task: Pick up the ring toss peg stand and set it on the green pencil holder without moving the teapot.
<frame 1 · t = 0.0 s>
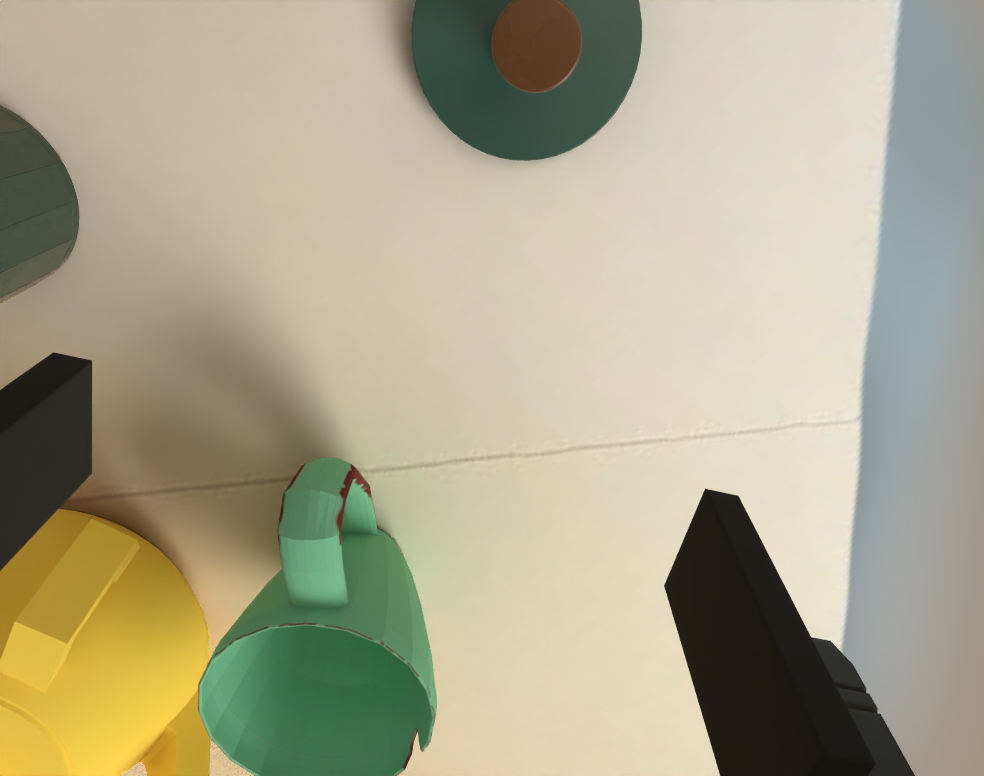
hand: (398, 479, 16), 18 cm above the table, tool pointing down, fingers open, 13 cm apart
teapot: (83, 601, 41), on the table
ring toss peg stand: (525, 41, 28), point 1 cm above the table
mug: (356, 520, 39), on the table
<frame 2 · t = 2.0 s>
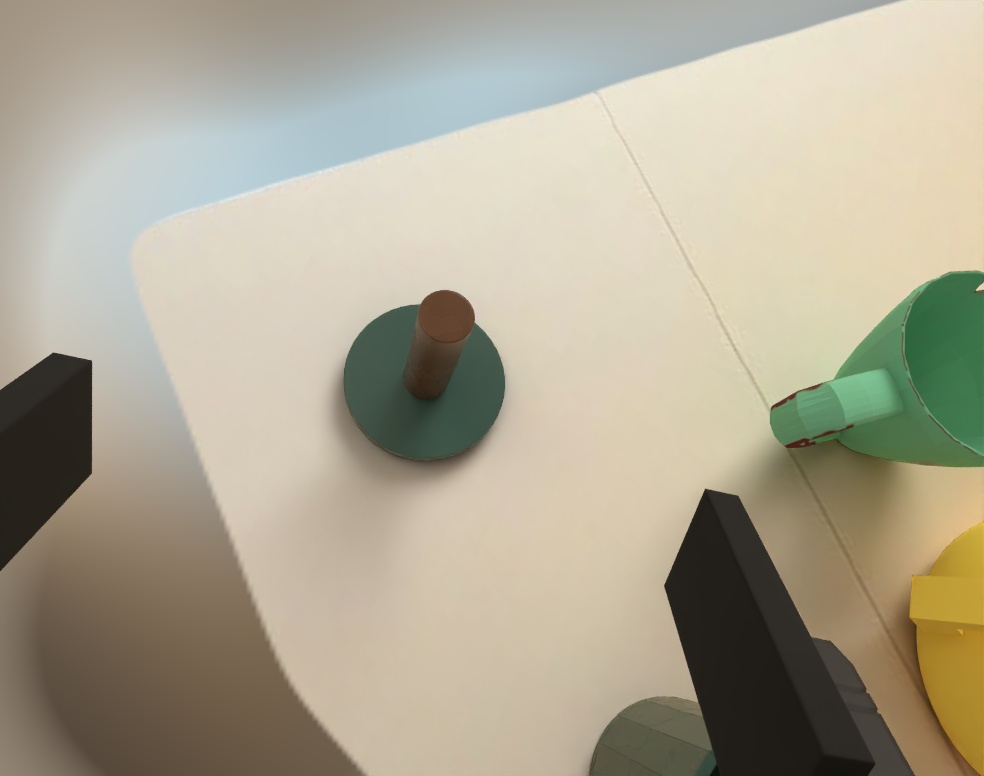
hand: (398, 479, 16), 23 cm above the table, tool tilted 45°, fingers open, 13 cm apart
ring toss peg stand: (424, 382, 40), point 1 cm above the table
mug: (824, 424, 45), on the table
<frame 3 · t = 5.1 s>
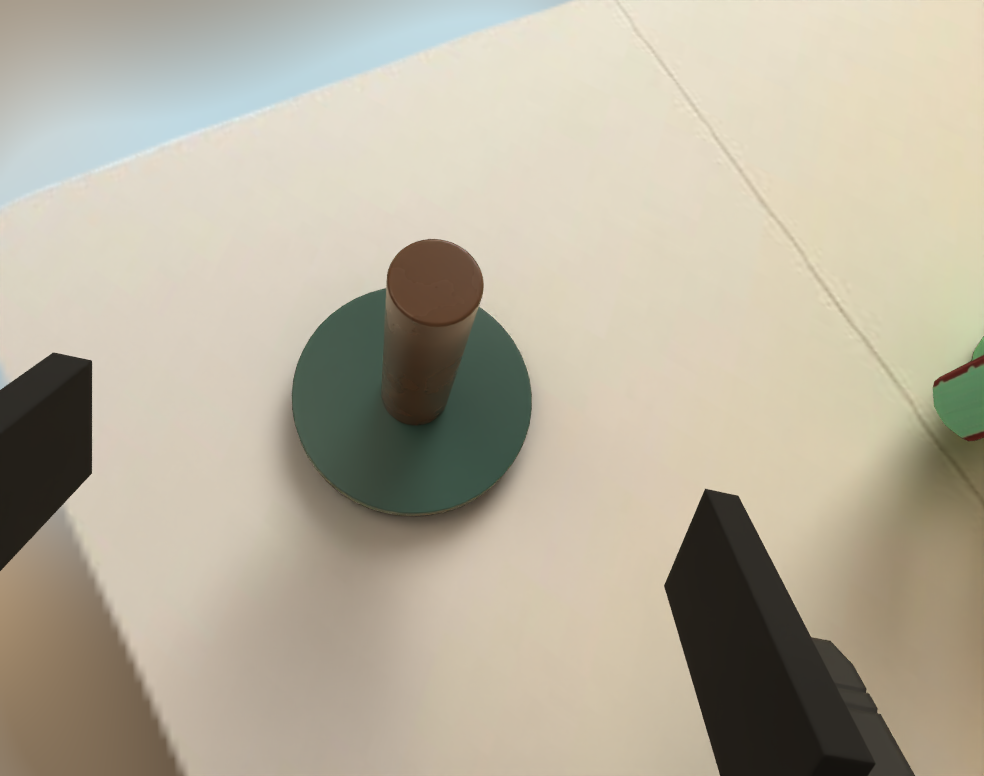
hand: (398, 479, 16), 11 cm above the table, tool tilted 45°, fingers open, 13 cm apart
ring toss peg stand: (413, 398, 27), point 1 cm above the table
mug: (976, 400, 32), on the table
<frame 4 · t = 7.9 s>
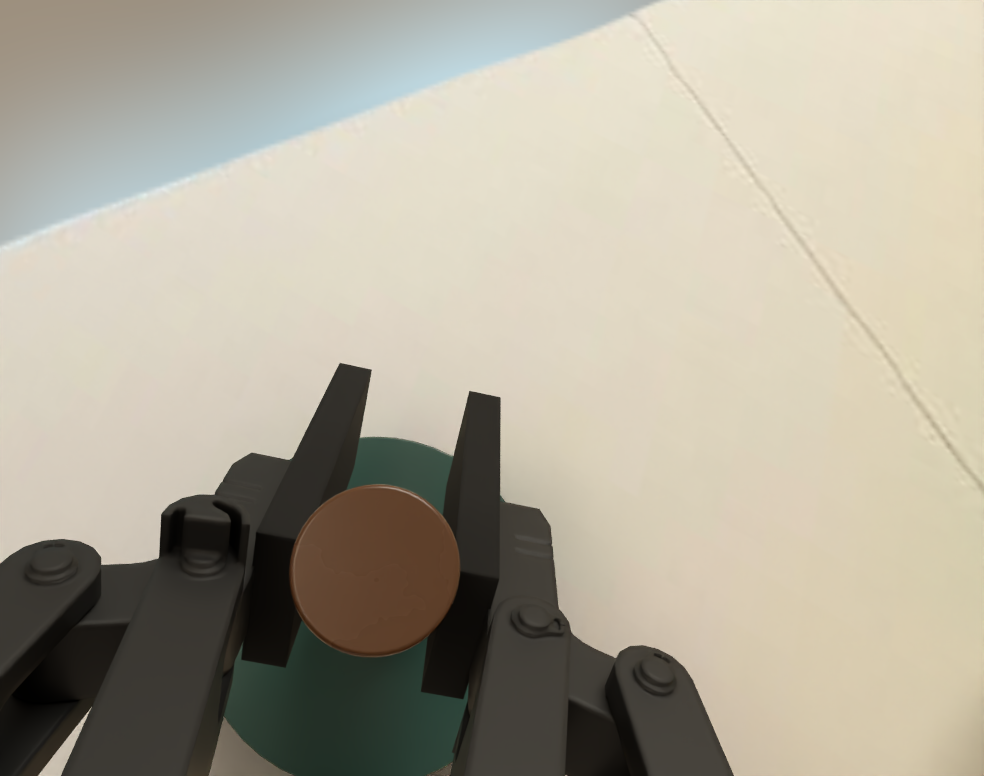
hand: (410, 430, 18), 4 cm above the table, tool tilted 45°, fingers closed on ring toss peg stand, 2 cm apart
ring toss peg stand: (373, 601, 19), point 1 cm above the table, touching gripper
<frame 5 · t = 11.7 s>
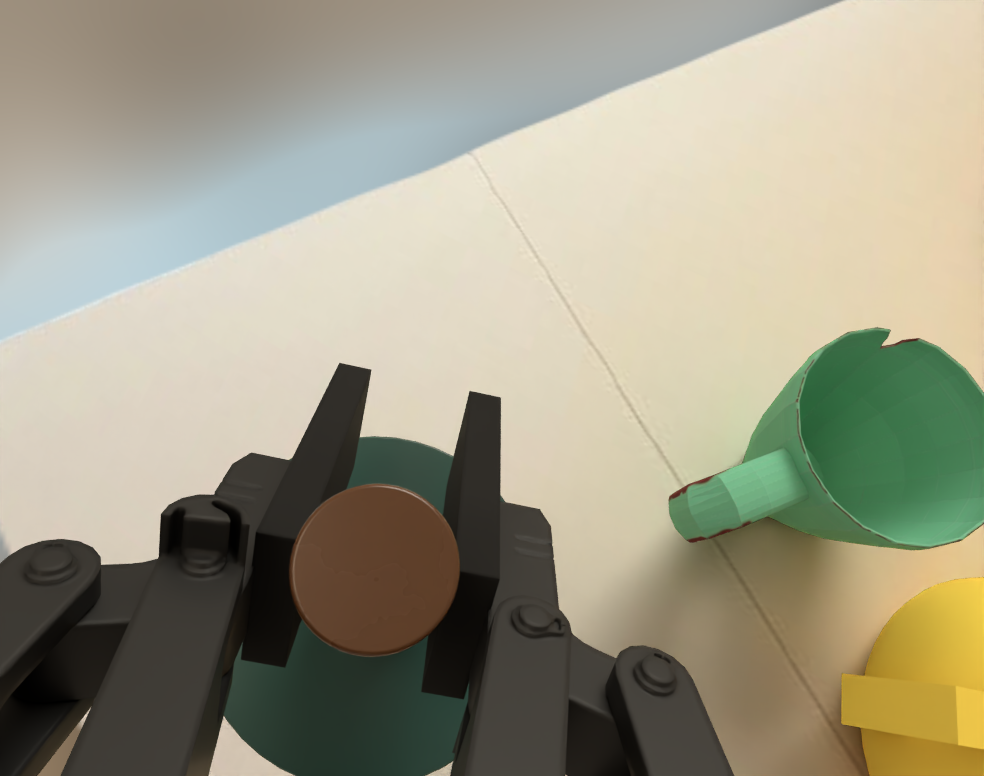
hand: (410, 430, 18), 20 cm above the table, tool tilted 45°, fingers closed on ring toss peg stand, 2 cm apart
teapot: (973, 734, 39), on the table
ring toss peg stand: (373, 600, 19), point 17 cm above the table, touching gripper
mug: (744, 494, 41), on the table
when the fingers open (13 cm above the table, at t = 15.8 s): ring toss peg stand stays where it is, resting on green pencil holder.
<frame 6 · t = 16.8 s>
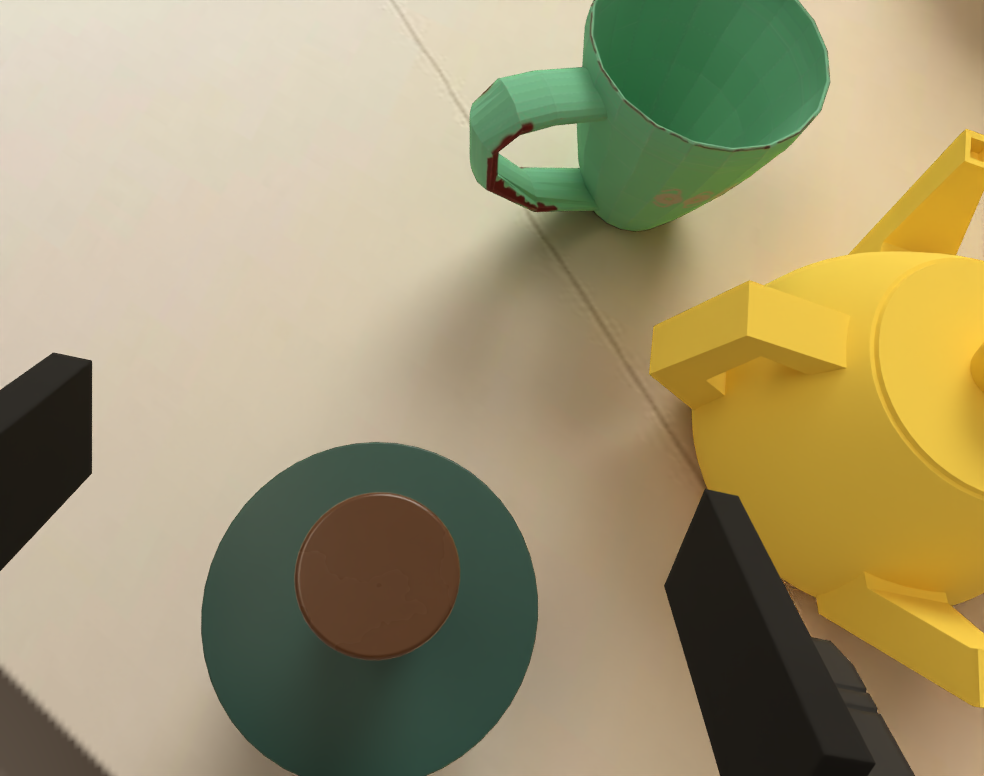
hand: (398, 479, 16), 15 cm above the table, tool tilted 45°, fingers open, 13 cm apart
teapot: (827, 446, 35), on the table
ring toss peg stand: (375, 604, 20), point 10 cm above the table, touching green pencil holder
mug: (586, 203, 38), on the table
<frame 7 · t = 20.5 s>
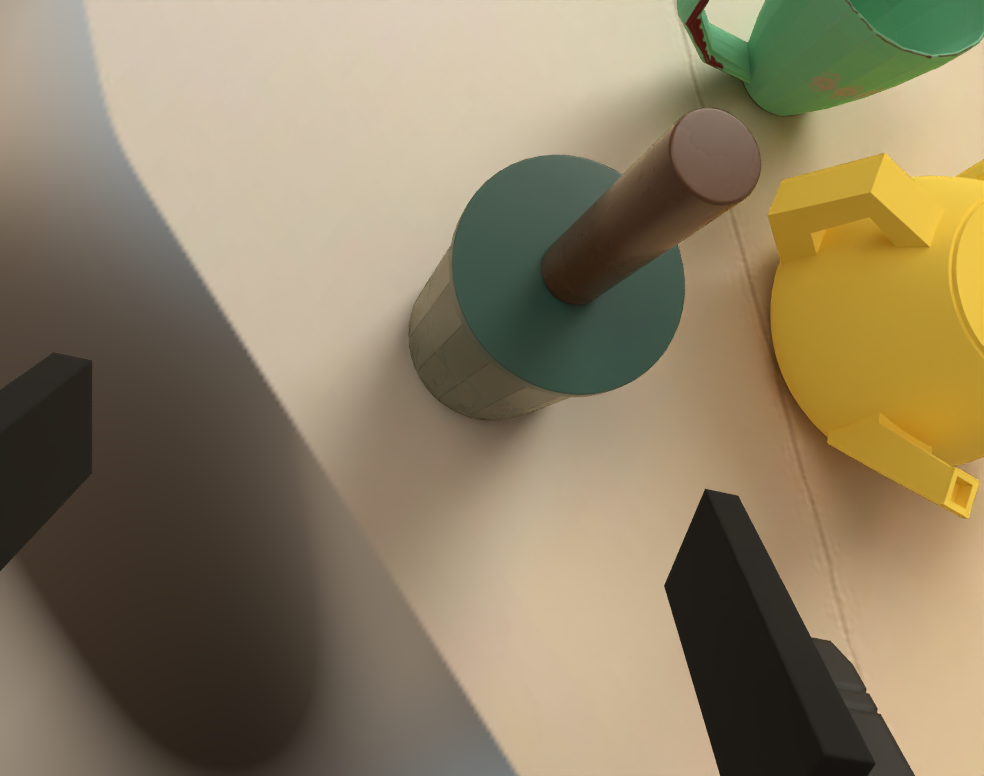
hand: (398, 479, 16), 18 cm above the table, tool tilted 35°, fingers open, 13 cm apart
green pencil holder: (489, 339, 36), on the table
teapot: (865, 336, 42), on the table
ring toss peg stand: (567, 276, 26), point 10 cm above the table, touching green pencil holder
mug: (739, 76, 43), on the table
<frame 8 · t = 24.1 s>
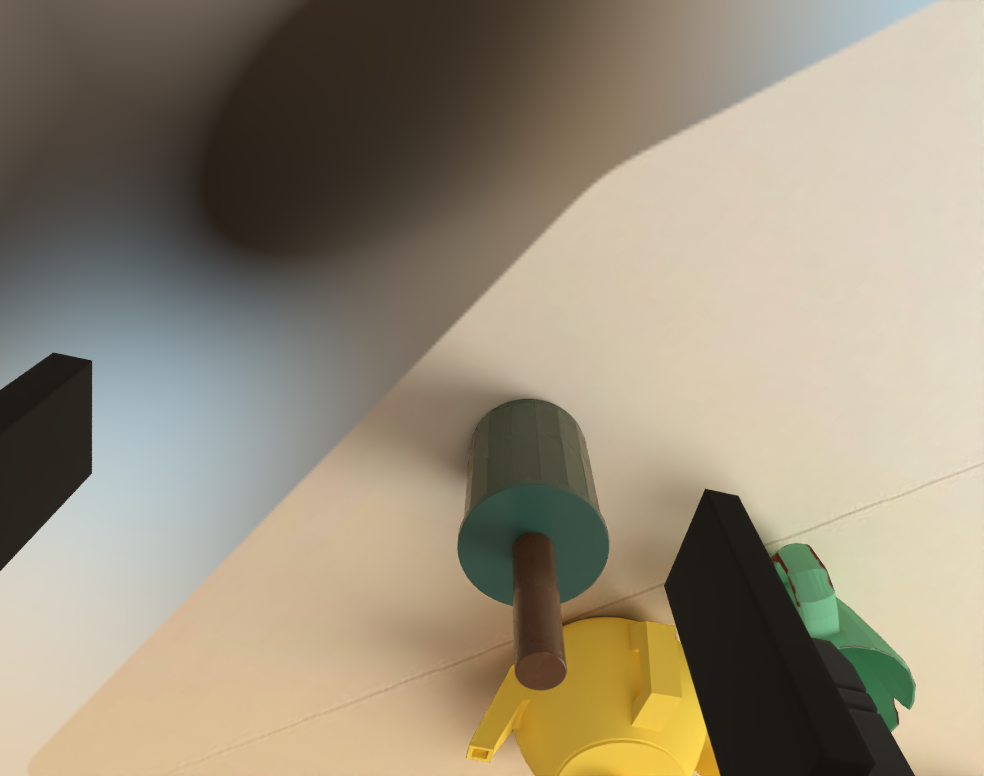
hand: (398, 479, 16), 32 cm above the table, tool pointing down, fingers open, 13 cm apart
green pencil holder: (527, 450, 52), on the table
teapot: (602, 674, 61), on the table
ring toss peg stand: (532, 542, 43), point 10 cm above the table, touching green pencil holder
mug: (779, 572, 57), on the table
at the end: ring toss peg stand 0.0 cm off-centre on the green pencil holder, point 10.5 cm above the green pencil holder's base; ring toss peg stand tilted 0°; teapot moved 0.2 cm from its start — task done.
